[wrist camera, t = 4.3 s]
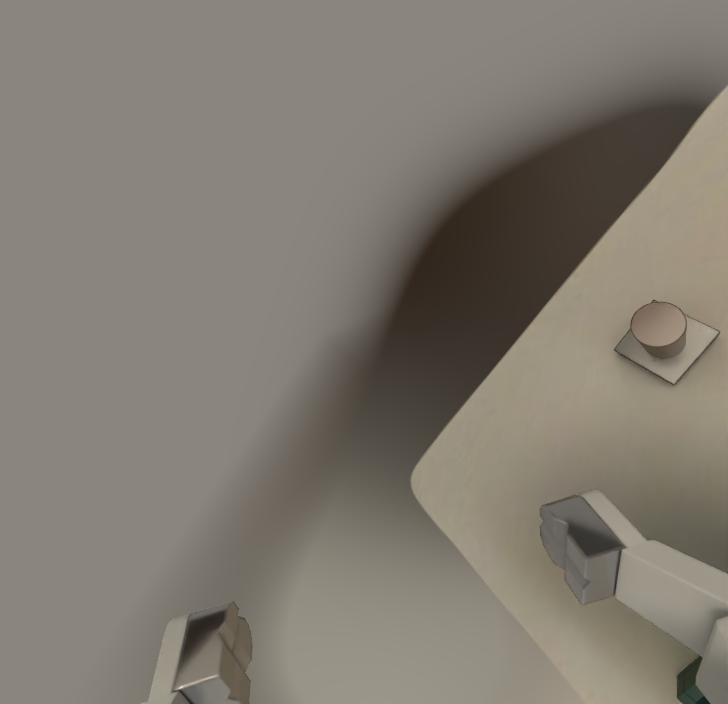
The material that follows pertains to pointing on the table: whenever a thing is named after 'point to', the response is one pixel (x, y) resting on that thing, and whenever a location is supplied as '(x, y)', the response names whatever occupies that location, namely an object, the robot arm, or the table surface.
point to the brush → (665, 340)
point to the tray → (690, 685)
